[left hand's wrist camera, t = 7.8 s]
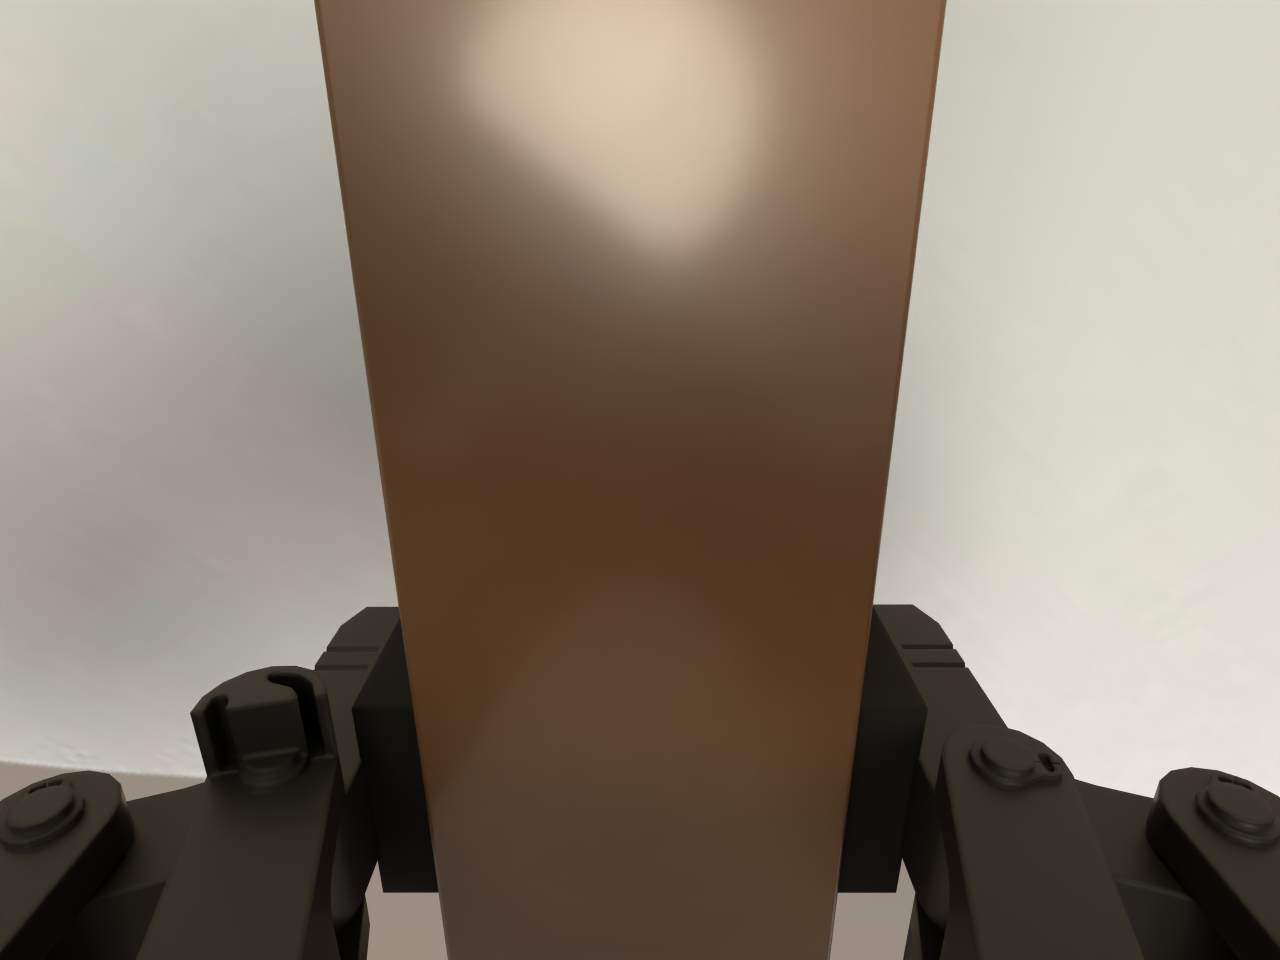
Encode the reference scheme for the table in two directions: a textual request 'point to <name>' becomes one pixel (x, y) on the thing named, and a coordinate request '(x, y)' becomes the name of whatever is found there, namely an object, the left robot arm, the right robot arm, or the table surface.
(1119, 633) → the table surface
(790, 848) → the post
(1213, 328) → the table surface
